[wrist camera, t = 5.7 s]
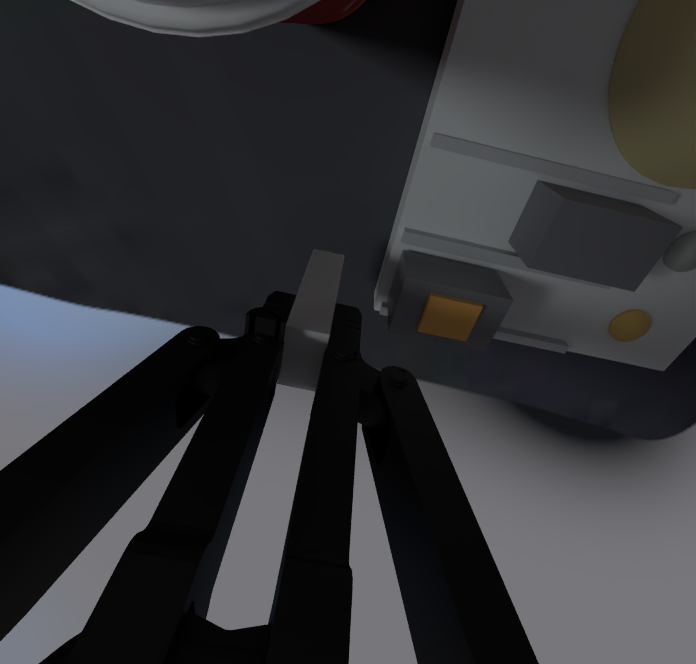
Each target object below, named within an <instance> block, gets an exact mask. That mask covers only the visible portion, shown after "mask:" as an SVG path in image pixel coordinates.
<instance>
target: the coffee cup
mask: <svg viewBox="0 0 696 664" xmlns="http://www.w3.org/2000/svg"><path fill="white" fill-rule="evenodd" d="M71 1H73V2H75V3H77V4H79V5H81V6H83V7H85V8H87V9H89V10H92V11H94V12H96V13H98V14H100V15H102V16H104V17H106V18H108V19H111V20H114V21H118V22H121V23H124V24H128V25H131V26H134V27H138V28H141V29H144V30H148V31H151V32H154V33H162V34H172V35H181V36H191V37H200V38H201V37H211V36H222V35H232V34H242V33H246V32H249V31H252V30H256V29H259V28H262V27H265V26H268V25H271V24H274V23H277V22H279V23H299V24H326V23H331V22H334V21H337V20H340V19H342V18H344V17H346V16H347V15H349V14H351V13H352V12H354V11H355V10H356V9H357V8H359V7H360V6H361V5H362V4H363V3H364V2H365V1H366V0H71Z"/></svg>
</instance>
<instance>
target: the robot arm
mask: <svg viewBox="0 0 696 664" xmlns="http://www.w3.org/2000/svg"><path fill="white" fill-rule="evenodd" d="M343 260H344V255H340V254H335V253H331V252H327V251H322V250H318V249H313V252H312V255H311V258H310V260H309V263H308V266H307V268H306V271H305V274H304V277H303V279H302V282H301V285H300V288H299V290H298V293H297V295H293V294H289V293H284V292H280V291H275V292H273V293H272V294H270V295H269V296H268V298H267V300H266V302H265V304H264V306H263V307H260V308H254V309H252V310H250V311H249V312H248V313H247V314H246V321H245V334H244V336H242V337H238V338H230V339H220V336H219V334H218V333H217V332H216V331H215V330H213V329H211V328H208V327H204V326H194V327H190V328H186V329H185V330H183V331H181V332H180V333H178V334H177V335H176V336H175V337H173V338H172V339H171V340H169V341H168V342H167V343H165V344H164V345H163V346H161V347H160V348H159V349H158V350H157V351H155V352H154V353H152V354H151V355H150V356H148V357H147V358H146V359H145V360H143V361H142V362H141V363H139V364H138V365H137V366H135V367H134V368H133V369H132V370H130V371H129V372H128V373H126V374H125V375H124V376H123V377H121V378H120V379H119V380H117V381H116V382H115V383H113V384H112V385H111V386H110V387H108V388H107V389H106V390H104V391H103V392H102V393H100V394H99V395H98V396H97V397H95V398H94V399H93V400H92V401H90V402H89V403H87V404H86V405H85V406H84V407H82V408H81V409H80V410H78V411H77V412H76V413H75V414H73V415H72V416H71V417H69V418H68V419H67V420H66V421H64V422H63V423H62V424H60V425H59V426H58V427H56V428H55V429H54V430H53V431H51V432H50V433H49V434H47V435H46V436H45V437H43V438H42V439H41V440H40V441H38V442H37V443H36V444H34V445H33V446H32V447H31V448H29V449H28V450H27V451H25V452H24V453H23V454H21V455H20V456H19V457H17V458H16V459H15V460H14V461H12V462H11V463H10V464H8V465H7V466H6V467H5V468H3V469H2V470H1V471H0V641H1V640H2V639H3V638H4V637H5V636H6V635H7V634H8V633H9V632H10V631H11V630H12V629H13V627H14V626H15V625H16V624H17V623H18V622H19V621H20V620H21V619H22V618H23V617H24V616H25V615H26V614H27V613H28V612H29V610H30V609H31V608H32V607H33V606H34V605H35V604H36V603H37V601H38V600H39V599H40V598H41V597H42V596H43V595H44V594H45V593H46V591H47V590H48V589H49V588H50V587H51V586H52V584H53V583H54V582H55V581H56V580H57V579H58V578H59V577H60V576H61V574H62V573H63V572H64V571H65V570H66V569H67V568H68V566H69V565H70V564H71V563H72V562H73V561H74V560H75V559H76V558H77V556H78V555H79V554H80V553H81V552H82V551H83V550H84V549H85V547H86V546H87V545H88V544H89V543H90V542H91V541H92V539H93V538H94V537H95V536H96V535H97V534H98V533H99V532H100V530H101V529H102V528H103V527H104V526H105V525H106V524H107V523H108V521H109V520H110V519H111V518H112V517H113V516H114V515H115V514H116V512H117V511H118V510H119V509H120V508H121V507H122V505H123V504H124V503H125V502H126V501H127V500H128V499H129V498H130V497H131V495H132V494H133V493H134V492H135V491H136V490H137V489H138V488H139V486H140V485H141V484H142V483H143V482H144V481H145V480H146V478H147V477H148V476H149V475H150V474H151V473H152V472H153V471H154V470H155V468H156V467H157V466H158V465H159V464H160V463H161V462H162V460H163V459H164V458H165V457H166V456H167V455H168V454H169V453H170V451H171V450H172V449H173V448H174V447H175V446H176V445H177V444H178V442H179V441H180V440H181V439H182V438H183V437H184V436H185V434H186V433H187V432H188V431H189V430H190V429H191V428H192V427H193V425H194V424H195V423H196V422H197V421H198V420H199V419H200V418H201V417H202V415H203V414H204V416H203V417H202V419H201V421H200V423H199V425H198V427H197V429H196V431H195V433H194V435H193V437H192V439H191V441H190V443H189V445H188V447H187V449H186V451H185V453H184V455H183V457H182V459H181V461H180V463H179V465H178V467H177V469H176V471H175V473H174V475H173V477H172V479H171V481H170V483H169V485H168V487H167V489H166V491H165V493H164V495H163V497H162V499H161V501H160V503H159V505H158V507H157V509H156V511H155V513H154V515H153V517H152V519H151V520H150V522H149V524H148V526H147V527H146V528H145V529H144V530H143V531H141V532H139V533H137V534H136V535H135V536H134V537H133V538H132V539H131V541H130V543H129V544H128V546H127V548H126V549H125V551H124V553H123V555H122V557H121V558H120V561H119V562H118V564H117V566H116V568H115V570H114V572H113V574H112V576H111V577H110V580H109V581H108V583H107V585H106V587H105V589H104V591H103V593H102V595H101V596H100V598H99V600H98V602H97V604H96V606H95V608H94V610H93V612H92V614H91V616H90V617H89V619H88V621H87V623H86V625H85V627H84V629H83V631H82V632H81V633H79V634H78V635H76V636H75V637H73V638H72V639H70V640H69V641H67V642H66V643H64V644H63V645H62V646H60V647H59V648H58V649H57V650H56V651H54V652H53V653H52V654H50V655H49V656H48V657H47V658H46V659H44V660H43V661H42V662H40V663H39V664H348V662H349V643H350V625H351V606H352V584H353V583H352V582H353V577H352V570H351V568H350V566H349V547H350V533H351V517H352V501H353V486H354V471H355V454H356V439H357V423H358V422H359V423H361V424H362V431H363V436H364V440H365V444H366V448H367V453H368V457H369V461H370V465H371V469H372V473H373V478H374V482H375V486H376V490H377V495H378V499H379V503H380V507H381V511H382V515H383V520H384V524H385V528H386V532H387V536H388V541H389V545H390V549H391V553H392V558H393V562H394V566H395V570H396V574H397V579H398V583H399V587H400V591H401V596H402V600H403V604H404V608H405V612H406V616H407V621H408V625H409V629H410V633H411V637H412V642H413V646H414V650H415V654H416V659H417V663H418V664H539V663H538V661H537V659H536V656H535V654H534V652H533V649H532V647H531V645H530V643H529V640H528V638H527V635H526V633H525V631H524V628H523V626H522V624H521V622H520V619H519V617H518V615H517V613H516V610H515V608H514V605H513V603H512V601H511V598H510V596H509V594H508V592H507V589H506V587H505V585H504V582H503V580H502V578H501V575H500V573H499V571H498V568H497V566H496V564H495V562H494V559H493V557H492V554H491V552H490V550H489V547H488V545H487V543H486V541H485V538H484V536H483V534H482V531H481V529H480V527H479V524H478V522H477V520H476V517H475V515H474V513H473V510H472V508H471V506H470V504H469V501H468V499H467V497H466V494H465V492H464V490H463V488H462V485H461V483H460V480H459V478H458V476H457V473H456V471H455V469H454V466H453V464H452V462H451V460H450V457H449V455H448V453H447V450H446V448H445V446H444V443H443V441H442V439H441V436H440V434H439V432H438V429H437V427H436V425H435V423H434V420H433V418H432V415H431V413H430V411H429V409H428V406H427V404H426V402H425V400H424V397H423V395H422V392H421V390H420V388H419V386H418V383H417V381H416V379H415V377H414V376H413V375H412V374H411V373H410V372H409V371H407V370H405V369H403V368H401V367H397V366H387V367H385V368H383V369H382V370H381V371H379V370H377V369H375V368H373V367H371V366H369V365H368V364H367V363H365V362H364V360H363V359H362V357H361V353H360V337H361V322H362V315H361V313H360V311H359V309H358V308H356V307H351V306H347V305H342V304H338V303H336V298H337V293H338V287H339V282H340V277H341V271H342V266H343ZM277 380H278V382H277ZM276 383H277V384H282V385H286V386H291V387H296V388H301V389H306V390H311V391H315V397H314V401H313V405H312V410H311V414H310V421H309V426H308V431H307V436H306V441H305V446H304V451H303V456H302V461H301V466H300V471H299V476H298V481H297V485H296V491H295V495H294V501H293V506H292V511H291V515H290V520H289V525H288V531H287V535H286V540H285V545H284V550H283V555H282V560H281V565H280V570H279V575H278V580H277V585H276V590H275V595H274V600H273V604H272V609H271V613H270V618H269V623H268V625H261V626H255V627H249V628H242V629H237V630H225V629H223V628H221V627H218V626H217V625H215V624H213V623H211V622H210V621H208V620H206V616H207V612H208V608H209V603H210V599H211V594H212V590H213V587H214V584H215V581H216V578H217V574H218V571H219V568H220V565H221V562H222V558H223V555H224V552H225V549H226V546H227V543H228V539H229V537H230V533H231V530H232V526H233V524H234V521H235V517H236V514H237V511H238V508H239V505H240V502H241V499H242V495H243V492H244V489H245V486H246V483H247V480H248V477H249V473H250V470H251V467H252V464H253V461H254V458H255V455H256V451H257V448H258V445H259V442H260V439H261V436H262V433H263V429H264V426H265V423H266V420H267V417H268V414H269V410H270V407H271V404H272V401H273V398H274V395H275V388H276Z"/></svg>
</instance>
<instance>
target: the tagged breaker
mask: <svg viewBox="0 0 696 664" xmlns="http://www.w3.org/2000/svg"><path fill="white" fill-rule="evenodd" d="M513 301H514V300H513V298H512V297H511V295H510V293H509V292H508V290H507V288H506V286H505V285H504V283H503V281H502V279H501V278H500V276H499V274H498V272H497V271H495V270H491V269H486V268H482V267H477V266H473V265H468V264H464V263H459V262H455V261H451V260H446V259H442V258H437V257H433V256H428V255H424V254H419V253H415V252H410V251H406V250H402V253H401V257H400V260H399V263H398V266H397V269H396V273H395V276H394V279H393V282H392V286H391V289H390V292H389V295H388V298H387V310H388V331H392V332H397V333H402V334H407V335H411V336H416V337H421V338H426V339H430V340H435V341H440V342H445V343H450V344H454V345H459V346H464V347H469V348H473V349H478V350H483V351H486V350H487V348H488V346H489V345H490V343H491V341H492V339H493V337H494V335H495V334H496V332H497V330H498V328H499V326H500V324H501V323H502V321H503V319H504V317H505V315H506V313H507V312H508V310H509V308H510V306H511V304H512V302H513Z"/></svg>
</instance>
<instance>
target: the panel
mask: <svg viewBox="0 0 696 664" xmlns="http://www.w3.org/2000/svg"><path fill="white" fill-rule="evenodd" d="M402 250H406V251H410V252H415V253H419V254H424V255H428V256H433V257H437V258H442V259H446V260H451V261H455V262H459V263H464V264H468V265H473V266H477V267H482V268H486V269H491V270H495V271H497V272H498V274H499V276H500V278H501V279H502V281H503V283H504V285H505V286H506V288H507V290H508V292H509V293H510V295H511V297H512V298H513V300H514V301H513V302H512V304H511V306H510V308H509V310H508V312H507V313H506V315H505V317H504V319H503V321H502V323H501V324H500V326H499V328H498V330H497V332H496V334H495V335H494V337H493V338H494V339H499V340H503V341H508V342H513V343H518V344H522V345H527V346H532V347H536V348H541V349H546V350H551V351H555V352H560V353H565V352H566V351H570V352H575V353H580V354H585V355H589V356H594V357H599V358H603V359H608V360H613V361H617V362H622V363H627V364H632V365H636V366H641V367H646V368H650V369H655V370H660V371H664V370H665V369H666V368H667V367H668V366H669V365H670V364H671V363H672V362H673V361H674V360H675V359H676V358H677V356H678V355H679V354H680V353H681V352H682V351H683V350H684V349H685V348H686V347H687V346H688V345H689V344H690V343H691V342H692V341H693V340H694V338H695V337H696V0H457V4H456V7H455V11H454V14H453V18H452V21H451V25H450V28H449V32H448V36H447V39H446V43H445V46H444V50H443V53H442V57H441V60H440V64H439V67H438V71H437V74H436V78H435V81H434V85H433V88H432V92H431V95H430V99H429V102H428V106H427V109H426V113H425V116H424V120H423V123H422V127H421V130H420V134H419V138H418V141H417V145H416V148H415V152H414V155H413V159H412V162H411V166H410V169H409V173H408V176H407V180H406V183H405V187H404V190H403V194H402V197H401V201H400V204H399V208H398V211H397V215H396V218H395V222H394V225H393V229H392V232H391V236H390V240H389V243H388V247H387V250H386V254H385V257H384V261H383V264H382V268H381V271H380V275H379V278H378V282H377V285H376V289H375V292H374V310H378V311H380V314H381V315H385V316H388V310H387V298H388V295H389V292H390V289H391V286H392V282H393V279H394V276H395V273H396V269H397V266H398V263H399V260H400V257H401V253H402Z"/></svg>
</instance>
